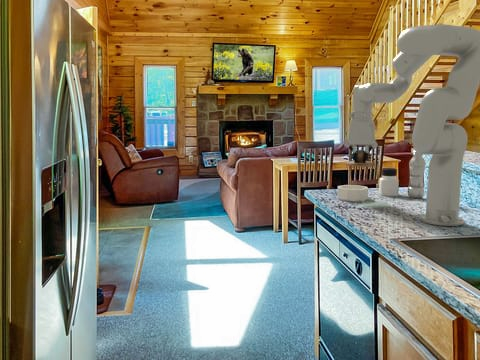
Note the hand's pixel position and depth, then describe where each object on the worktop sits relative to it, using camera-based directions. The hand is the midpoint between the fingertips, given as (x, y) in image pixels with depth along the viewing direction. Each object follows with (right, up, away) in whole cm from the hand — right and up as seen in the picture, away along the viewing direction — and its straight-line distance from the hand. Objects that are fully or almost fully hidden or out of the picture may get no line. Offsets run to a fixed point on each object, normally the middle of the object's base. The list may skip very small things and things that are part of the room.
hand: (359, 162), depth 163 cm
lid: (0, -1, 0) cm, 1 cm away
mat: (+4, -17, -6) cm, 19 cm away
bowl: (-1, -15, +6) cm, 17 cm away
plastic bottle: (+25, -15, +6) cm, 30 cm away
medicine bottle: (+17, -14, +14) cm, 26 cm away
